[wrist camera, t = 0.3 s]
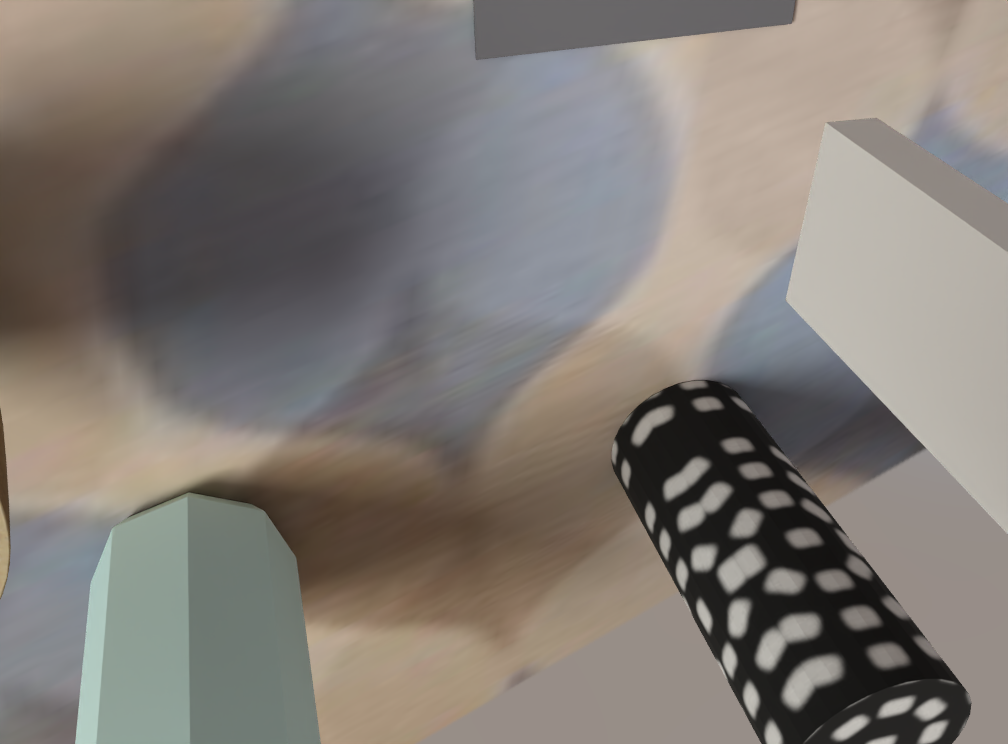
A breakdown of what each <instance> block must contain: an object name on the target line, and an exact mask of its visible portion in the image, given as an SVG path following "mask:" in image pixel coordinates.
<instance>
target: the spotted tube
mask: <svg viewBox="0 0 1008 744" xmlns="http://www.w3.org/2000/svg"><path fill="white" fill-rule="evenodd" d="M612 465H613V469H614V472H615V474H616V476H617V477H618V479H619V481H620V483H621V485H622V487H623V489H624V490H625V492H626V494H627V496H628V498H629V500H630V501H631V503H632V505H633V507H634V509H635V511H636V513H637V514H638V516H639V518H640V520H641V522H642V524H643V525H644V527H645V529H646V531H647V533H648V535H649V537H650V538H651V540H652V542H653V544H654V546H655V548H656V550H657V551H658V553H659V555H660V557H661V559H662V561H663V562H664V564H665V566H666V568H667V570H668V572H669V574H670V575H671V577H672V579H673V581H674V583H675V585H676V586H677V588H678V590H679V592H680V594H681V596H682V597H683V599H684V601H685V603H686V605H687V607H688V609H689V610H690V612H691V614H692V616H693V618H694V620H695V622H696V623H697V625H698V627H699V629H700V631H701V633H702V635H703V636H704V638H705V640H706V642H707V644H708V646H709V647H710V649H711V651H712V653H713V655H714V657H715V659H716V660H717V662H718V664H719V666H720V668H721V670H722V671H723V673H724V675H725V677H726V679H727V681H728V683H729V684H730V686H731V688H732V690H733V692H734V693H735V695H736V697H737V699H738V701H739V703H740V705H741V707H742V708H743V710H744V712H745V714H746V716H747V718H748V719H749V721H750V723H751V725H752V727H753V729H754V730H755V732H756V734H757V736H758V738H759V740H760V742H761V743H762V744H952V743H953V742H954V741H955V740H956V738H957V737H958V736H959V734H960V733H961V731H962V730H963V728H964V726H965V725H966V722H967V720H968V717H969V715H970V710H971V700H970V696H969V693H968V692H967V691H966V689H965V688H964V687H963V686H962V684H961V683H960V682H959V680H958V679H957V678H956V676H955V675H954V674H953V673H952V671H951V670H950V669H949V667H948V666H947V665H946V663H945V662H944V661H943V660H942V658H941V657H940V656H939V654H938V653H937V652H936V650H935V649H934V648H933V647H932V645H931V644H930V643H929V642H928V640H927V639H926V638H925V636H924V635H923V634H922V632H921V631H920V630H919V628H918V627H917V626H916V625H915V623H914V622H913V621H912V619H911V618H910V617H909V615H908V614H907V613H906V612H905V610H904V609H903V608H902V606H901V605H900V604H899V603H898V601H897V600H896V599H895V597H894V596H893V595H892V593H891V592H890V591H889V589H888V588H887V587H886V585H885V584H884V583H883V582H882V580H881V579H880V578H879V576H878V575H877V574H876V572H875V571H874V570H873V569H872V567H871V566H870V565H869V564H868V562H867V561H866V559H865V558H864V557H863V556H862V554H861V553H860V552H859V550H858V549H857V548H856V546H855V545H854V544H853V543H852V541H851V540H850V539H849V537H848V536H847V535H846V533H845V532H844V531H843V530H842V528H841V527H840V526H839V524H838V523H837V522H836V521H835V519H834V518H833V517H832V515H831V514H830V513H829V511H828V510H827V509H826V507H825V506H824V505H823V504H822V502H821V501H820V500H819V498H818V497H817V496H816V494H815V493H814V492H813V491H812V489H811V488H810V487H809V485H808V484H807V483H806V481H805V480H804V479H803V478H802V476H801V475H800V474H799V472H798V471H797V470H796V468H795V467H794V466H793V465H792V463H791V462H790V461H789V459H788V458H787V457H786V455H785V454H784V453H783V452H782V450H781V449H780V448H779V446H778V445H777V444H776V442H775V441H774V440H773V439H772V437H771V436H770V435H769V433H768V432H767V431H766V429H765V428H764V427H763V426H762V424H761V423H760V422H759V420H758V419H757V418H756V416H755V415H754V414H753V413H752V411H751V410H750V409H749V407H748V406H747V405H746V403H745V402H744V401H743V400H742V398H741V397H740V396H739V395H738V393H737V392H735V391H734V390H733V389H731V388H730V387H728V386H726V385H723V384H721V383H718V382H712V381H690V382H685V383H681V384H677V385H674V386H672V387H669V388H666V389H664V390H662V391H660V392H658V393H657V394H655V395H653V396H651V397H650V398H648V399H647V400H646V401H644V402H643V403H642V404H640V405H639V406H638V407H637V408H636V409H635V410H634V411H633V412H632V413H631V414H630V415H629V416H628V417H627V419H626V420H625V422H624V423H623V424H622V426H621V427H620V429H619V431H618V433H617V435H616V437H615V440H614V444H613V448H612Z"/></svg>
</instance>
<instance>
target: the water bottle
mask: <svg viewBox="0 0 1008 744" xmlns="http://www.w3.org/2000/svg"><path fill="white" fill-rule="evenodd" d="M75 744H321V742H320V734H319V727H318V719H317V712H316V704H315V697H314V689H313V681H312V674H311V666H310V659H309V651H308V643H307V636H306V628H305V621H304V613H303V605H302V598H301V590H300V583H299V575H298V567H297V560H296V557H295V555H294V554H293V552H292V551H291V549H290V548H289V546H288V545H287V543H286V542H285V540H284V539H283V537H282V536H281V535H280V533H279V532H278V530H277V529H276V527H275V526H274V524H273V523H272V521H271V520H270V518H269V517H268V515H267V514H266V512H265V511H264V510H262V509H260V508H258V507H256V506H254V505H252V504H249V503H243V502H238V501H232V500H227V499H222V498H216V497H211V496H206V495H200V494H195V493H190V492H188V493H186V494H184V495H181V496H179V497H176V498H174V499H171V500H169V501H167V502H164V503H162V504H159V505H157V506H155V507H152V508H150V509H147V510H145V511H142V512H140V513H138V514H135V515H133V516H130V517H128V518H127V519H125V520H124V521H122V522H121V523H119V524H117V525H116V526H114V527H113V528H112V531H111V533H110V536H109V538H108V541H107V543H106V546H105V548H104V551H103V553H102V556H101V559H100V561H99V564H98V566H97V569H96V571H95V574H94V576H93V579H92V581H91V586H90V596H89V607H88V617H87V627H86V638H85V648H84V659H83V669H82V680H81V690H80V700H79V711H78V721H77V732H76V742H75Z"/></svg>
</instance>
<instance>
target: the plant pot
mask: <svg viewBox="0 0 1008 744" xmlns="http://www.w3.org/2000/svg"><path fill="white" fill-rule="evenodd" d="M9 565H10V519H9V498H8V482H7V466H6V454H5V442H4V431H3V423H2V416H1V410H0V599H1V597H2V594H3V591H4V588H5V584H6V581H7V577H8V571H9Z"/></svg>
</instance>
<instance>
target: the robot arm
mask: <svg viewBox="0 0 1008 744" xmlns="http://www.w3.org/2000/svg"><path fill="white" fill-rule="evenodd" d="M786 301H787V302H788V303H789V304H790V305H791V306H792V307H793V309H794V310H795V311H796V312H797V313H798V314H799V315H800V316H801V317H802V318H803V319H804V320H805V321H806V322H807V323H808V324H809V325H810V326H811V327H812V329H813V330H814V331H815V332H816V333H817V334H818V335H819V336H820V337H821V338H822V339H823V340H824V341H825V342H826V343H827V344H828V345H829V346H830V347H831V349H832V350H833V351H834V352H835V353H836V354H837V355H838V356H839V357H840V358H841V359H842V360H843V361H844V362H845V363H846V364H847V365H848V366H849V367H850V369H851V370H852V371H853V372H854V373H855V374H856V375H857V376H858V377H859V378H860V379H861V380H862V381H863V382H864V383H865V384H866V385H867V386H868V387H869V389H870V390H871V391H872V392H873V393H874V394H875V395H876V396H877V397H878V398H879V399H880V400H881V401H882V402H883V403H884V404H885V405H886V406H887V407H888V409H889V410H890V411H891V412H892V413H893V414H894V415H895V416H896V417H897V418H898V419H899V420H900V421H901V422H902V423H903V424H904V425H905V426H906V427H907V429H908V430H909V431H910V432H911V433H912V434H913V435H914V436H915V437H916V438H917V439H918V440H919V441H920V442H921V443H922V444H923V445H924V446H925V447H926V449H927V450H928V451H929V452H930V453H931V454H932V455H933V456H934V457H935V458H936V459H937V460H938V461H939V462H940V463H941V464H942V465H943V466H944V467H945V469H947V471H948V472H949V473H950V474H951V475H952V476H953V477H954V478H955V479H956V480H957V481H958V482H959V483H960V484H961V485H962V486H963V487H964V488H965V490H966V491H967V492H968V493H969V494H970V495H971V496H972V497H973V498H974V499H975V500H976V501H977V502H978V503H979V504H980V505H981V506H982V507H983V508H984V510H985V511H986V512H987V513H988V514H989V515H990V516H991V517H992V518H993V519H994V520H995V521H996V522H997V523H998V524H999V525H1000V526H1001V527H1002V528H1003V530H1004V531H1005V532H1006V533H1007V534H1008V204H1007V203H1006V202H1004V201H1003V200H1001V199H1000V198H998V197H997V196H995V195H994V194H992V193H991V192H989V191H988V190H986V189H984V188H983V187H981V186H980V185H978V184H977V183H975V182H974V181H972V180H971V179H969V178H968V177H966V176H965V175H963V174H962V173H960V172H959V171H957V170H955V169H954V168H952V167H951V166H949V165H948V164H946V163H945V162H943V161H942V160H940V159H939V158H937V157H936V156H934V155H933V154H931V153H929V152H928V151H926V150H925V149H923V148H922V147H920V146H919V145H917V144H916V143H914V142H913V141H911V140H910V139H908V138H907V137H905V136H904V135H902V134H900V133H899V132H897V131H896V130H894V129H893V128H891V127H890V126H888V125H887V124H885V123H884V122H882V121H881V120H879V119H878V118H870V119H859V120H847V121H836V122H826V123H825V128H824V132H823V137H822V141H821V145H820V150H819V154H818V159H817V163H816V168H815V172H814V176H813V181H812V185H811V190H810V194H809V199H808V203H807V208H806V212H805V216H804V221H803V225H802V230H801V234H800V239H799V243H798V247H797V252H796V256H795V261H794V265H793V270H792V274H791V278H790V283H789V287H788V292H787V296H786Z"/></svg>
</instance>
